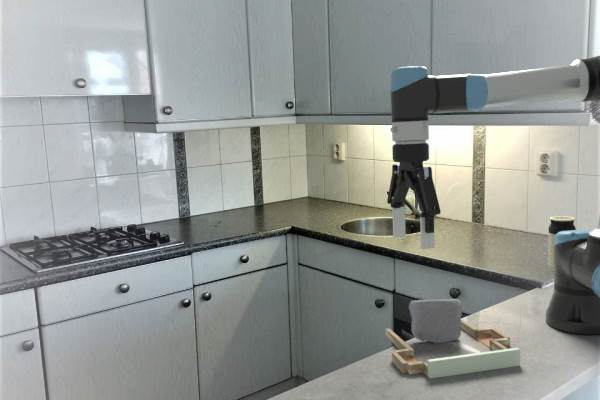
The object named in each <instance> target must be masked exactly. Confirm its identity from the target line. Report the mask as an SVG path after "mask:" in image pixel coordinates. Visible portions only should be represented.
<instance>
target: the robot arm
mask: <svg viewBox="0 0 600 400" xmlns="http://www.w3.org/2000/svg"><path fill="white" fill-rule="evenodd" d="M389 91H390V92H389V93H390V109H391V128H390V132H391V134H392V135H391V138H392V141H393V143H394V144H393V145H392V146H391V147H392V150H391V151H392V161H393V162H395V164H394V163H393V164H392V165H391V166H392V167H391V170H392V171H391V178H390V184H389V188H388V189H389V190H388V193H387V199H386V201H387V204H388V205H390V208H391V211H392V212H391V215H392V237H393V238H402V237H406V209H405V207H406V204H405V201H406V197H407V194H408V193H409V190H411V191H413V193H414V197H415V199H416V201H417V205H418V207H419V210H420V212H421V213H420V215H419V216H418V217H419V220H420V221H419V222H420V223H419V227H420V228H419V229H420V231H419V232H420V249H421V250H427V249H434V248H436V247H435V217H436V216H437V215H441V208H440V202H439V199H438V196H437V192H436V187H435V184H434V180H433V169H432V167H431V166H424V162H428V160H430V145H429V144H428V142H427V141H429V139H430V136H429V135H430V134H429V133H430V131H429V129H430V126H429V113H432V114H435V115H437V114H446V113H455V112H456V113H457V112H472V111H473V112H474V111H481V110H483V109H487V108H496V107H497V108H499V107H506V106H515V105H524V104H535V103H544V102H550V101H551V102H552V101H561V100H570V99H572V100H573V101H574V102H576V103H582V102H583V103H585V102H600V55H597V56H596V55H595V56H592V57H589V58H583V59H575V60H573V62H572V63H571V64H569V65H562V66H561V65H560V66H559V65H558V66H552V67H542V68H534V69H532V68H531V69H523V70H517V71H507V72H499V73H491V74H490V73H489V74H488V73H487V74H479V73H478V74H477V73H475V74H472V73H464V74H452V75H451V74H449V75H437V76H436V75H429V73H428V68H427V67H426V66H423V65H421V66H418V65H415V66H414V65H413V66H402V67H397V68H394V69H393V70H392V71H391V74H390V90H389ZM553 273H554V274H553V292H552V294H551V295H552V296H551V298H550V301H549V304H548V307H547V308H546V311H545V322H546V324H547V325H549V326H550V327H551V328H554V329H555V330H559V331H562V332H567V333H572V334H577V335H579V334H580V335H600V214H599V217H598V222H597V226H596V227H595V228H594V229H578V230H577V229H576V230H569V231H561V232H558V233H557V234H556V236H555V244H554V272H553Z"/></svg>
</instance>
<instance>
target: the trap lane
mask: <svg viewBox="0 0 600 400" xmlns="http://www.w3.org/2000/svg"><path fill="white" fill-rule="evenodd" d="M461 330H463V331H465V332H466V333H467V334H468V335H470V336H471V337H473V338H474V339H476V340H477V341H478V342H480V343H481V344H483V345H484V346H486V347H487V348H488V349H490V351H483V352H474V353H468V354H459V355H453V356H446V357H445V356H444V357H439V358H432V359H431V358H430V359H427V360H420V361H418V360H417V359H416V358H415V351H414V349H413V348H412V347H411V346H410V345H409V344H408V343H406V341H405V340H403V339H402V338H401V337H400V336H399V335H397V333H395V332H394V331H393V330H392V329H391V328H385V337H386V338H388V339H389V340H390V341H391V342H392V344H394V346H396V348H398V349H395V350H394V351H393V352H391V362H392V364H393V365H395V367H397V369H398V370H399V371H400V372H401V373H402V374H406V373H407V374H409V375H416V374H424V375H426V376H427V377H428V379H436V378H443V377H451V376H452V377H453V376H458V375H464V374H472V373H479V372H485V371H487V372H488V371H493V370H500V369H506V368H507V369H508V368H513V367H520V366H521V349H520V348H519V347H513V348H509V347H510V345H511V343H510V342H511V339H510V338H511V337H510V336H509V335H506V334H505V333H504V332H502V331H501V330H499V329H497V328H491V327H483V328H482V327H481V328H476V326H473V325H472V324H470V323H469V322H467V321H465V320H464V319H461Z"/></svg>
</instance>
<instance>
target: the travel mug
mask: <svg viewBox="0 0 600 400" xmlns="http://www.w3.org/2000/svg"><path fill="white" fill-rule="evenodd" d="M549 220H550V224H549V227H548V244H547V245H548V247H547V248H548V249H547V252H548V253H547V266H548V265H549V266H551V267H554V244H555V236H556V234H557V233H558V232H561V231H569V230H577V228H576V227H575V226H576V225H575V224H574V223H575V220H576V218H575V217H573V216H568V215H554V216H550V217H549Z"/></svg>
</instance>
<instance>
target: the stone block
mask: <svg viewBox="0 0 600 400" xmlns="http://www.w3.org/2000/svg"><path fill="white" fill-rule="evenodd" d="M408 309H409V314H410V317H411V326H410V327H411V333H412V335H413V337H414V338H415V339H417V340H419V341H422V342H426V341H427V342H430V343H437V344H438V343H447V342H452V341H457V340H459V339H460V337H461V335H462V329H461V320H462V313H463V306H462V303H461V301H460V299H456V298H445V299H444V298H443V299H442V298H441V299H418V300H415V299H414V300H411V301H410V302H409V304H408Z"/></svg>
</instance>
